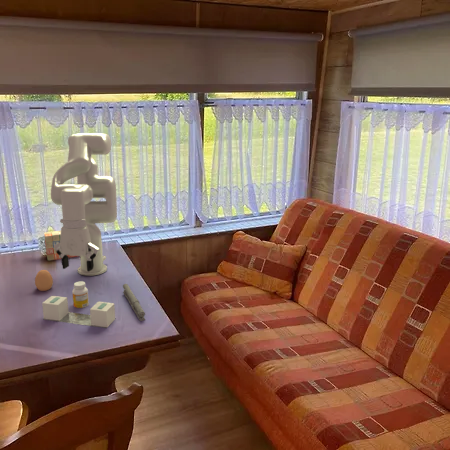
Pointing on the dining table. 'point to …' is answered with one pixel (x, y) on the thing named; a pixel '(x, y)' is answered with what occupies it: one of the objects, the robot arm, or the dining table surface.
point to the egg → (43, 280)
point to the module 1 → (55, 308)
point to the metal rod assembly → (134, 302)
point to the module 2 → (102, 314)
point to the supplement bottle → (80, 295)
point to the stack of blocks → (50, 241)
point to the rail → (77, 319)
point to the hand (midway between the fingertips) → (78, 268)
